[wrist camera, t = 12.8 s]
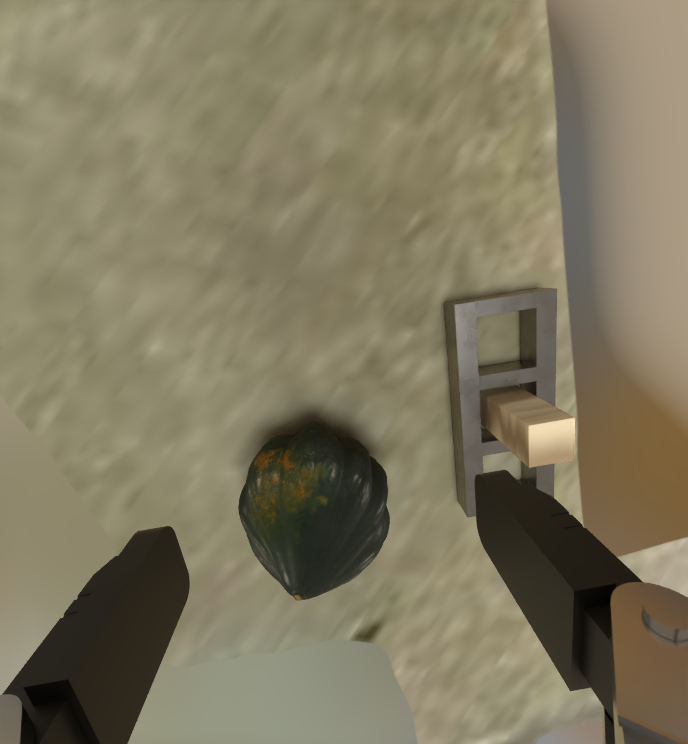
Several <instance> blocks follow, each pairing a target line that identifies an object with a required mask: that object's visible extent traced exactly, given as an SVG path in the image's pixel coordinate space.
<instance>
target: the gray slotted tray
mask: <svg viewBox="0 0 688 744" xmlns="http://www.w3.org/2000/svg"><path fill="white" fill-rule="evenodd" d="M519 310H520V360H519V361H513V362H506V363H500V364H494V365H488V366H482V367H478V353H477V331H476V317H481V316H487V315H493V314H500V313H506V312H512V311H519ZM444 313H445V327H446V341H447V355H448V370H449V384H450V398H451V412H452V426H453V441H454V455H455V469H456V483H457V497H458V502H459V504H460V506H461V507H462V509H463V510H464V512H465V514H466V515H467V517H473V516H476V502H475V484H474V480H475V476H476V475H477V474H483V460H482V456H484V455H490V454H496V453H502V452H507V451H510V450H509V449H508V448H507V447H506V446H505V445H504V444H502V443H501V442H500V441H499V440H498V439H497V438H496V437H495V436H494V435H493V434H492V433H490V432H489V431H488V430H487V429H481V417H480V396H479V390H485V389H491V388H497V387H503V386H509V385H515V384H521V388H522V389H524V390H526V391H527V392H529V393H531V394H533V395H535V396H536V397H538V398H540V399H542V400H544V401H546V402H547V403H549V404H551V405H553V406H555V383H556V317H557V289H552V288H534V289H528V290H521V291H515V292H509V293H502V294H496V295H489V296H483V297H477V298H470V299H464V300H458V301H451V302H445V303H444ZM517 481H518V482H519V483H520V484H521V485H522V486H523V487H529V486H533V487H535V488H537V489H539V490H541V491H542V492H544V493H546V494H548V495H550V496H552V497H553V498H554V464H548V465H542V466H536V467H531V468H529V467H528V466H527V465H526V464H524V463H523V462H522V480H517Z"/></svg>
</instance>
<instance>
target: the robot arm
mask: <svg viewBox="0 0 688 744" xmlns="http://www.w3.org/2000/svg"><path fill="white" fill-rule="evenodd" d="M474 484H475V502H476V520H477V529H478V533H479V536H480V540H481V542H482V545H483V547H484V549H485V551H486V552H487V554H488V556H489V557H490V559H491V561H492V562H493V564H494V566H495V567H496V569H497V571H498V572H499V574H500V575H501V577H502V579H503V580H504V582H505V584H506V585H507V587H508V589H509V590H510V592H511V594H512V595H513V597H514V599H515V600H516V602H517V604H518V605H519V607H520V609H521V610H522V612H523V614H524V615H525V617H526V619H527V620H528V622H529V624H530V625H531V627H532V628H533V630H534V632H535V633H536V635H537V637H538V638H539V640H540V642H541V643H542V645H543V647H544V648H545V650H546V652H547V653H548V655H549V657H550V658H551V660H552V662H553V663H554V665H555V667H556V668H557V670H558V672H559V673H560V675H561V676H562V678H563V680H564V681H565V683H566V685H567V686H568V688H569V690H570V691H574V690H580V689H585V688H590V687H591V688H592V689H593V691H594V693H595V694H596V696H597V697H598V699H599V700H600V702H601V703H602V705H603V713H602V721H603V744H688V597H686V596H684V595H682V594H680V593H678V592H676V591H673V590H671V589H669V588H666V587H663V586H660V585H655V584H651V583H644V582H642V581H641V580H640V579H639V578H638V577H637V576H636V575H635V574H634V573H633V572H632V571H631V570H630V569H629V568H628V567H627V566H625V565H624V564H623V563H622V562H621V561H620V560H619V559H618V558H617V557H616V556H615V555H614V554H613V553H611V552H610V551H609V550H608V549H607V548H606V547H605V546H604V545H603V544H602V543H601V542H600V541H599V540H598V539H597V538H596V537H595V536H594V535H593V534H592V533H590V532H589V531H588V530H587V529H586V528H583V526H582V524H581V523H580V522H579V521H578V520H577V519H576V518H575V517H574V516H573V515H570V514H569V512H568V511H567V510H566V509H565V508H564V507H563V506H562V505H561V504H560V503H559V502H558V501H557V500H556V499H554V498H553V497H552V496H550V495H548V494H546V493H544V492H542V491H541V490H539V489H537V488H535V487H533V486H529V487H523V486H522V485H521V484H520V483H519V482H518V481H517V480H516V479H515V478H514V477H513V476H512V475H511V474H510V473H509V472H508V471H506V470H500V471H495V472H489V473H483V474H477V475H476V476H475V480H474ZM189 585H190V582H189V573H188V570H187V567H186V564H185V561H184V558H183V555H182V552H181V549H180V546H179V543H178V540H177V537H176V534H175V531H174V530H173V528H172V527H170V526H166V527H160V528H154V529H148V530H142V531H138V532H136V533H135V534H134V535H133V537H132V538H131V539H130V541H129V542H128V543H127V545H126V546H125V548H124V549H123V550H122V552H121V553H120V554H119V556H115V557H114V558H113V559H112V560H110V561H109V562H108V563H107V564H106V565H105V566H103V567H102V568H101V569H100V570H99V571H98V572H96V573H95V574H94V575H93V576H92V578H91V579H90V581H89V582H88V583H87V584H86V585H85V587H84V588H83V589H82V591H81V592H80V593H79V595H78V599H77V600H74V601H73V603H72V604H71V605H70V606H69V608H68V609H67V610H66V612H65V613H64V617H63V618H60V620H59V621H58V622H57V623H56V625H55V626H54V627H53V629H52V630H51V631H50V633H49V634H48V635H47V637H46V638H45V639H44V640H43V642H42V643H41V644H40V646H39V647H38V648H37V650H36V651H35V652H34V654H33V655H32V656H31V657H30V659H29V660H28V661H27V663H26V664H25V665H24V667H23V668H22V669H21V671H20V672H19V673H18V674H17V676H16V677H15V678H14V680H13V681H12V682H11V684H10V685H9V686H8V688H7V689H6V690H5V692H4V693H3V694H2V695H0V744H127V743H128V741H129V739H130V736H131V734H132V731H133V729H134V726H135V724H136V722H137V719H138V717H139V714H140V712H141V710H142V707H143V705H144V702H145V700H146V697H147V695H148V693H149V690H150V688H151V685H152V683H153V681H154V678H155V676H156V673H157V671H158V669H159V666H160V664H161V661H162V659H163V657H164V654H165V652H166V649H167V647H168V645H169V642H170V640H171V637H172V635H173V633H174V630H175V628H176V625H177V623H178V620H179V618H180V616H181V613H182V611H183V608H184V606H185V604H186V601H187V598H188V594H189Z"/></svg>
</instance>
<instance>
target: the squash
mask: <svg viewBox="0 0 688 744" xmlns="http://www.w3.org/2000/svg"><path fill="white" fill-rule="evenodd" d="M387 496H388V487H387V476H386V473H385V471H384V469H383V467H382V466H381V465H380V464H379V463H378V462H377V461H376V460H375V459H374V458H372V457H371V456H369V454H368V451H367V450H366V448H365V447H364V446H363V445H362V444H361V443H360V442H359V441H357V440H355V439H352V438H345V439H341V440H339V441H338V439H337V438H336V436H335V434H334V433H333V432H332V430H331V429H330V428H328V427H327V426H326V425H325V424H323V423H319V422H312V423H309V424H307V425H306V426H305V427H304V428H302V429H301V430H300V431H299V432H298V433H297V434H296V436H295V437H293V436H291V435H280V436H277V437H275V438H273V439H271V440H270V441H269V442H268V443H267V444H266V445H265V446H263V448H262V449H261V450H260V451H259V453H258V454H257V455H256V457H255V458H254V460H253V462H252V464H251V466H250V468H249V472H248V476H247V480H246V484H245V485H244V487H243V490H242V492H241V495H240V499H239V507H238V508H239V515H240V519H241V522H242V525H243V527H244V529H245V531H246V533H247V537H248V540H249V543H250V545H251V548H252V550H253V552H254V554H255V556H256V557H257V558H258V560H259V561H260V563H261V564H262V565H263V566H264V568H265V569H266V570H267V571H268V572H269V573H270V574H271V575H272V576H273V577H274V578H275V579H276V580H277V581H279V582H280V584H281V585H282V586H283V587H284V589H285V590H286V591H287V592H288V593H289V594H290V595H292V596H293V597H294V599H295V600H305V599H310V598H313V597H316V596H319V595H321V594H323V593H326V592H328V591H330V590H332V589H334V588H336V587H338V586H340V585H342V584H345V583H347V582H349V581H351V580H352V579H354V578H355V577H356V576H358V575H359V574H360V573H361V572H362V571H363V570H364V569H365V568H366V567H367V566H368V565H369V564H370V563H371V562H372V561H373V560H374V558H375V557H376V556H377V554H378V553H379V551H380V549H381V547H382V545H383V543H384V541H385V539H386V537H387V534H388V530H389V524H390V516H389V512H388V509H387V506H386V502H387Z"/></svg>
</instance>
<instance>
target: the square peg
mask: <svg viewBox="0 0 688 744" xmlns="http://www.w3.org/2000/svg"><path fill="white" fill-rule="evenodd" d="M479 396H480V417H481V424H482V425H483V426H484V427H485V428H486V429H487V430H488V431H489V432H490V433H492V434H493V435H494V436H495V437H496V438H497V439H498V440H499V441H500V442H501V443H502V444H504V445H505V446H506V447H507V448H508V449H509V450H510V451H511V452H512V453H513V454H515V455H516V456H517V457H518V458H519V459H520V460H521V461H522V462H523V463H524V464H526V465H527V466H528V467H529V468H531V467H536V466H542V465H548V464H554V463H559V462H565V461H571V460H574V439H575V417H573V416H571V415H569V414H567V413H566V412H564V411H562V410H560V409H558V408H556V407H555V406H553V405H551V404H549V403H547V402H546V401H544V400H542V399H540V398H538V397H536V396H535V395H533V394H531V393H529V392H527V391H526V390H524V389H522V388H520V387H518V386H516V385H509V386H503V387H497V388H491V389H485V390H479Z"/></svg>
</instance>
